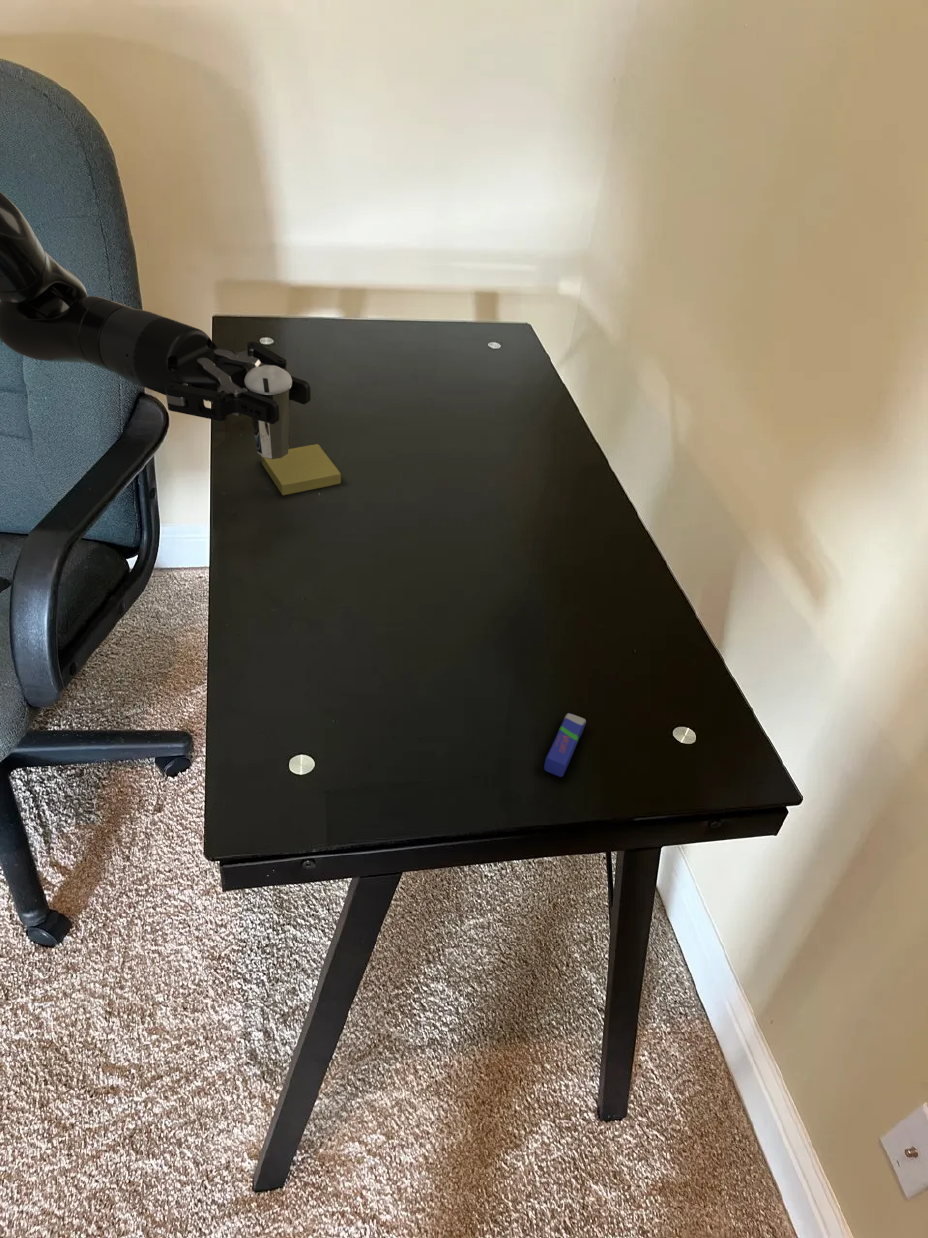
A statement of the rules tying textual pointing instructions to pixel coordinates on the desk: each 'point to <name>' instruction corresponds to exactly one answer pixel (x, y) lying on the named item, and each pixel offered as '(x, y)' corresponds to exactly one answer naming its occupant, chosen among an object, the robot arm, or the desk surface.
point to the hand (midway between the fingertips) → (292, 403)
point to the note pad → (302, 470)
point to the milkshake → (278, 388)
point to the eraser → (564, 744)
